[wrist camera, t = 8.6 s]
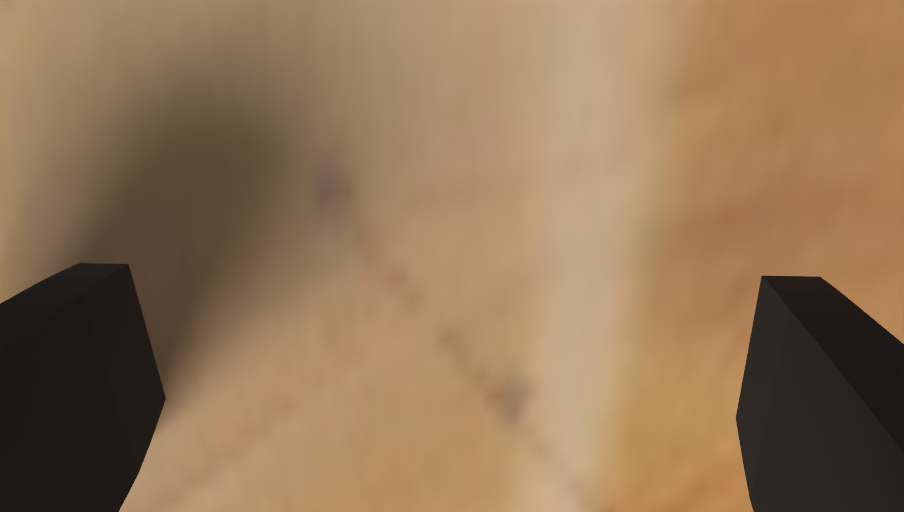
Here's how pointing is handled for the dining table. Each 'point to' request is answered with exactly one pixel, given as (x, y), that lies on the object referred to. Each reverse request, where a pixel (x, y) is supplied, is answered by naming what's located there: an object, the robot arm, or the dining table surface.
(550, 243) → the dining table surface
